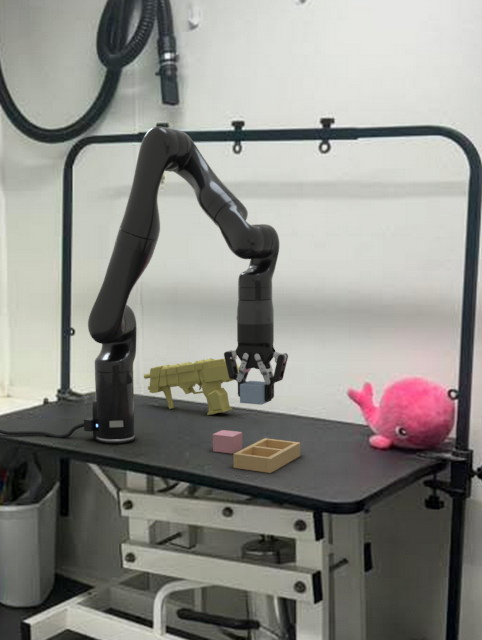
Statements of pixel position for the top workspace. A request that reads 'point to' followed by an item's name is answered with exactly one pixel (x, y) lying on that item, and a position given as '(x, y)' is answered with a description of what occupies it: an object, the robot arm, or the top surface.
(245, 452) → the pad holder
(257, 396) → the blue block
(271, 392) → the robot arm
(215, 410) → the firearm
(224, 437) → the pink block
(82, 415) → the top surface
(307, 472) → the top surface
